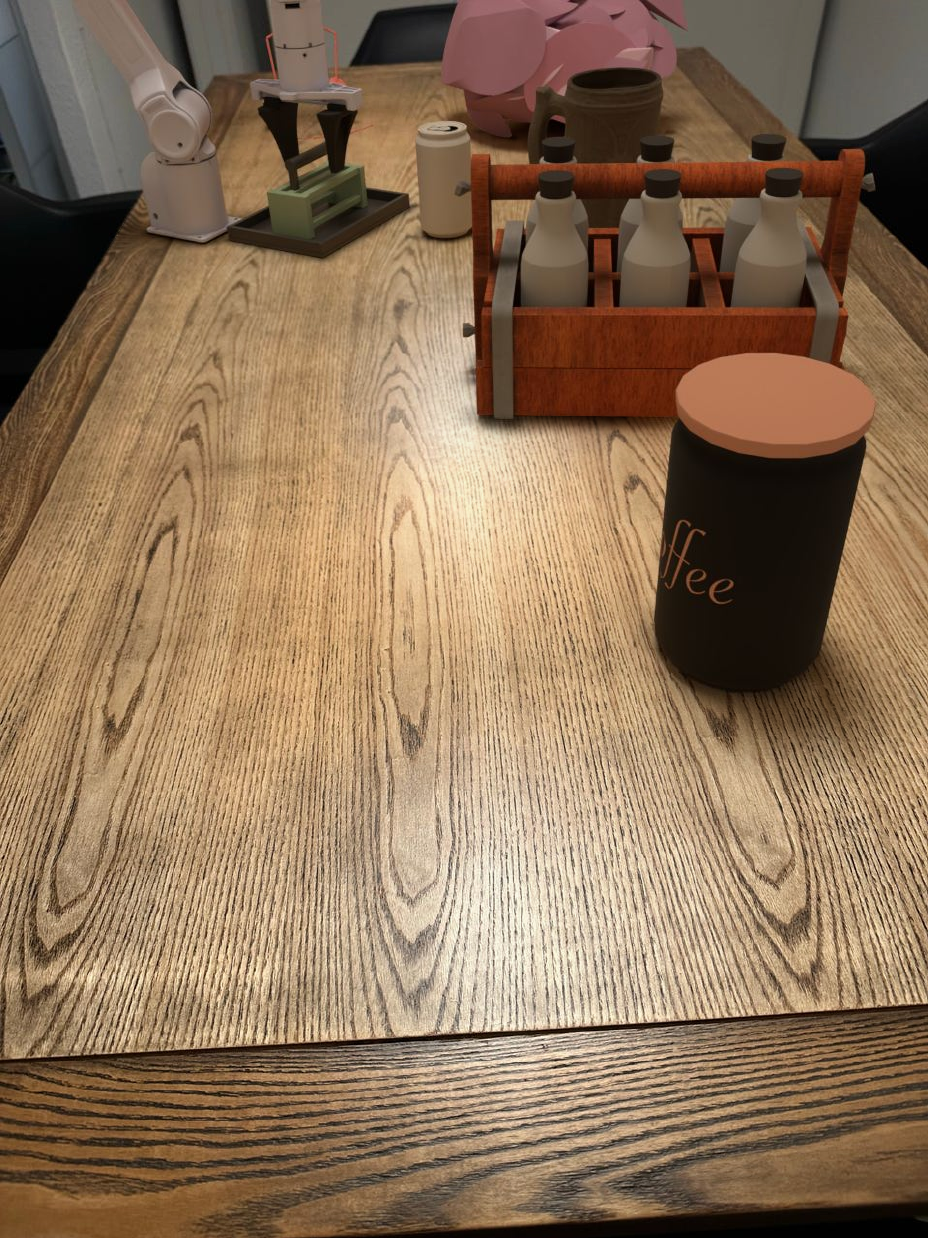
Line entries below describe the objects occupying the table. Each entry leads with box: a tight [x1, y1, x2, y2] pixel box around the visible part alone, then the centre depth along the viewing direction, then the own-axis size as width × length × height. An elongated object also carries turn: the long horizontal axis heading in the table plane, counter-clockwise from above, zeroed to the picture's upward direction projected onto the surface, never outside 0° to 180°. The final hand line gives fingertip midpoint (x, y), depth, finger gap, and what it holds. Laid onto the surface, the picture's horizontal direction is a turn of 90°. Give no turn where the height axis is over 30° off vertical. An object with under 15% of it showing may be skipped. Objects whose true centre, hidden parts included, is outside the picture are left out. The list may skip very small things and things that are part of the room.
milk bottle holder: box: [454, 133, 876, 420], centre depth 94 cm, size 21×35×19 cm, turn 85°
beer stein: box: [527, 67, 665, 228], centre depth 115 cm, size 15×11×20 cm
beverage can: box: [414, 120, 472, 239], centre depth 127 cm, size 6×6×12 cm
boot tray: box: [226, 186, 411, 259], centre depth 134 cm, size 14×19×2 cm
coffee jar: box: [653, 353, 877, 693], centre depth 64 cm, size 11×11×18 cm
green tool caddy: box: [266, 141, 368, 239], centre depth 132 cm, size 6×13×8 cm, turn 152°
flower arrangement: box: [440, 0, 689, 138], centre depth 155 cm, size 35×24×28 cm
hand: (314, 167), depth 130 cm, fingers open, 6 cm apart
